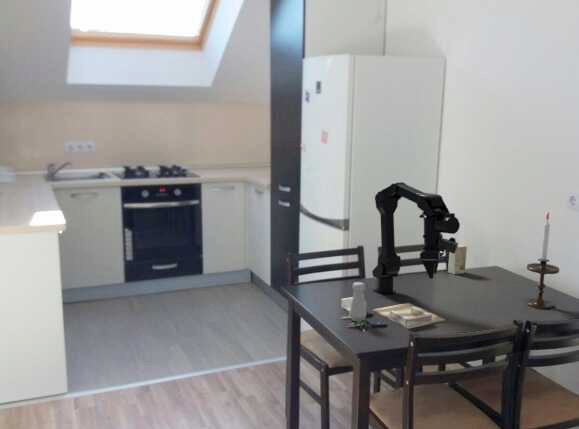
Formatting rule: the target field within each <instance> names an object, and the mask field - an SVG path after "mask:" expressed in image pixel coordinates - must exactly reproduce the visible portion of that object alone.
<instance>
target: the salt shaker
mask: <svg viewBox="0 0 579 429" xmlns="http://www.w3.org/2000/svg"><path fill="white" fill-rule="evenodd" d="M352 290H353V295H352V297H353V298H352V303H351V308H350V312H349V311H348V312H349V317H350V319H352V320H351V321H353V322H354V321H362V320H364V321H365V320H366V317H367V305H366V306H365V302H366V300H365V293H364V291H366V284H365V283H364V282H361V281H357V282H353V283H352ZM362 322H363V321H362Z"/></svg>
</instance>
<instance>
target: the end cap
mask: <svg viewBox="0 0 579 429" xmlns="http://www.w3.org/2000/svg"><path fill="white" fill-rule="evenodd" d="M352 298H353V296H351V297H346V298H345V297H343V298H341V301H340V307H341V308H342V309H344V310H345V309H346V310H345V311H347V312H350V308H351V303H352ZM365 306H366V307H367V302H366V301H365Z"/></svg>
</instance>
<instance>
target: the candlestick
mask: <svg viewBox="0 0 579 429" xmlns="http://www.w3.org/2000/svg"><path fill="white" fill-rule="evenodd" d="M545 217H546V218H545V219H546V221H545V222H544V223H543V234H542V242H541V245H542V246H541V256H540V258H538V259H537V261H539V262H540V263H538V262H537V263H528V264H527V265H526V270H528V271H529V272H532V273H536V274H539V275H540V276H539V283H537V288H538V290H537V291H536V292H537V293H538V297H537V298H530V299H529V298H528V299H527V300H526V305H527V306H528V307H530V306H531V308H533V307H534V308H533V309H537V308H539V309H540V310H549V309H548V308H551V309H553V308H552V307H554V304H553V302H551V301H550V300H546V299H544V298H543V294H545V291H544V289H545V288H546V284H545V282H544V281H545V275H557V274H559V273H560V268H559V267H558V266H557V265H554V264H553V265H552V264H548V263H549V262H550V260H549V259H547V258H548V248H549V239H550V238H549V237H550V227H551V226H550V225H551V224H550V223H549V218H550V213H549V211H547V215H546V216H545ZM539 309H538V310H539Z"/></svg>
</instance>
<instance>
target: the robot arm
mask: <svg viewBox="0 0 579 429" xmlns="http://www.w3.org/2000/svg"><path fill="white" fill-rule="evenodd" d="M402 198H405V199H406V200H408V201H410V202H413V203H415V204H416V205H417V206H416V207H417V208H418V209H419V210H421V211H422V212H421V214H420V215H419V216H418V217H419V218H420V219H423V235H422V238H423V247H422V251H421V252H420V253H419V259H420V261H421V263H422V265H423V267H424V270H425V271H426V273H427V276H428V278H429V279H430V280H432V279H434V275H435V274H437V272H438V269H439V264H440V262H439V261H440V259H441V258H442V256H443V255H445V252H446V251H448V252H451V253H455V252H456V249H457V247H458V244H459V243H458V242H457V241H456V238H455V237H453V236H451V237H450V238H445V237H444V236H443V233H444V234H451V235H454V234H457V232H458V231H459V229H460V225H461V223H460V222H459V218H457V217H456V215H455V214H456V213H454V212H450V211H449V208H448V207H447V205H446V203H445V201H444V199H443V196H441V194H437V193H428V192H423V191H421V190H419V189H417V188H414V187H412V186H411V185H408V184H406V183H405V182H402V181H401V182H393V183H391V184H390V185H389V186H387V187H386V188H383V189H382V190H379V191H378V192H377V193H376V194H375V196H374V201H375V208H376V210H377V211H378V213H379V215H380V239H381V253H380V254H379V256H378V258H377V265H376V266H375V267H374V268H373V270H372V277H373V278H376V288H373V290H372V291H374V292H376V293H378V294H380V295H390V294H391V295H392V294H396V293H397V291H396V290H394V278H395V277H396V278H397V277H398V276H399V272H400V271H401V267H402V264H401V260H402V259H401V258H402V257H401V256H400V255H397V252H396V244H395V243H396V242H395V216H394V215H395V212H396V211H397V209H398V204H399V201H400V200H402Z"/></svg>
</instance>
